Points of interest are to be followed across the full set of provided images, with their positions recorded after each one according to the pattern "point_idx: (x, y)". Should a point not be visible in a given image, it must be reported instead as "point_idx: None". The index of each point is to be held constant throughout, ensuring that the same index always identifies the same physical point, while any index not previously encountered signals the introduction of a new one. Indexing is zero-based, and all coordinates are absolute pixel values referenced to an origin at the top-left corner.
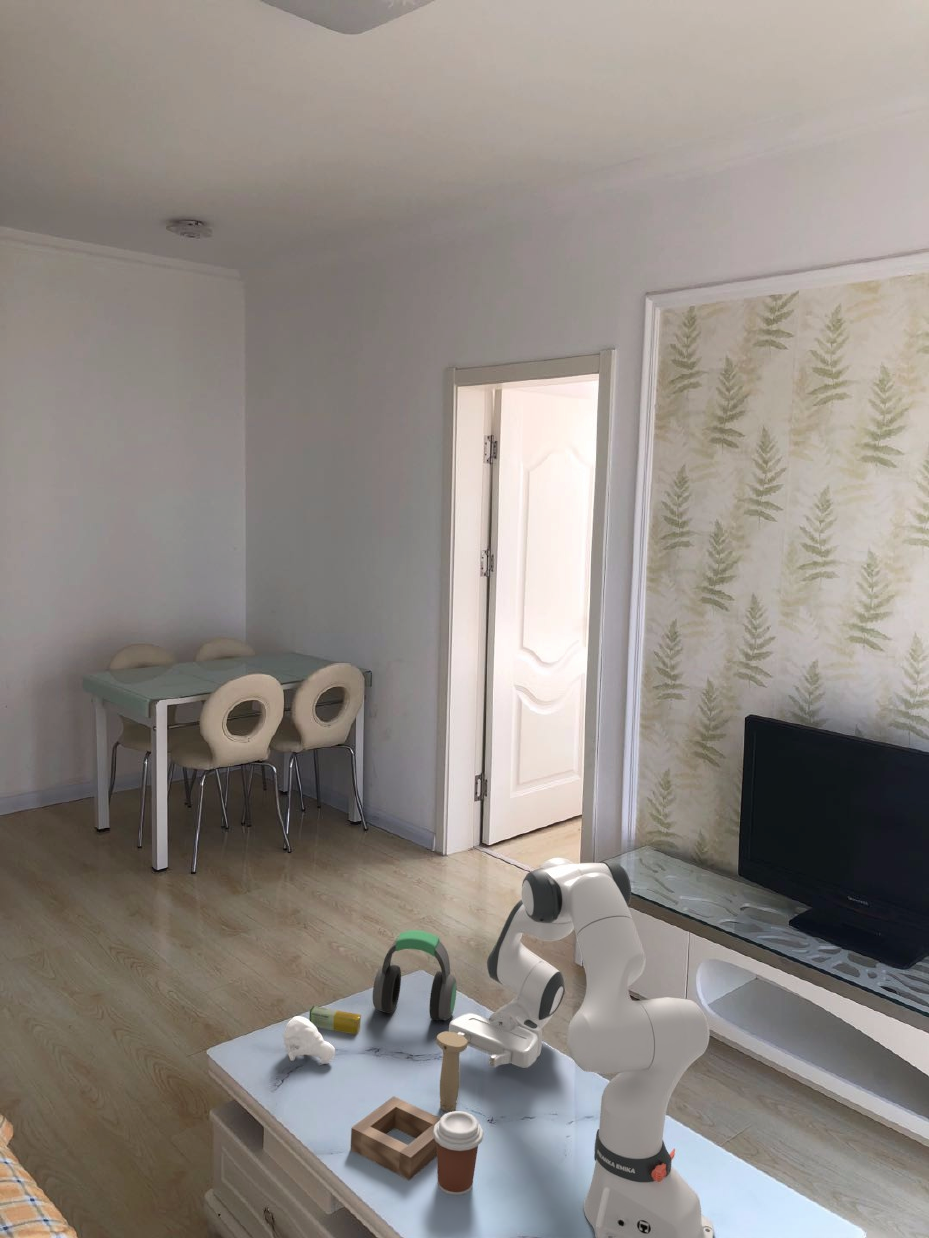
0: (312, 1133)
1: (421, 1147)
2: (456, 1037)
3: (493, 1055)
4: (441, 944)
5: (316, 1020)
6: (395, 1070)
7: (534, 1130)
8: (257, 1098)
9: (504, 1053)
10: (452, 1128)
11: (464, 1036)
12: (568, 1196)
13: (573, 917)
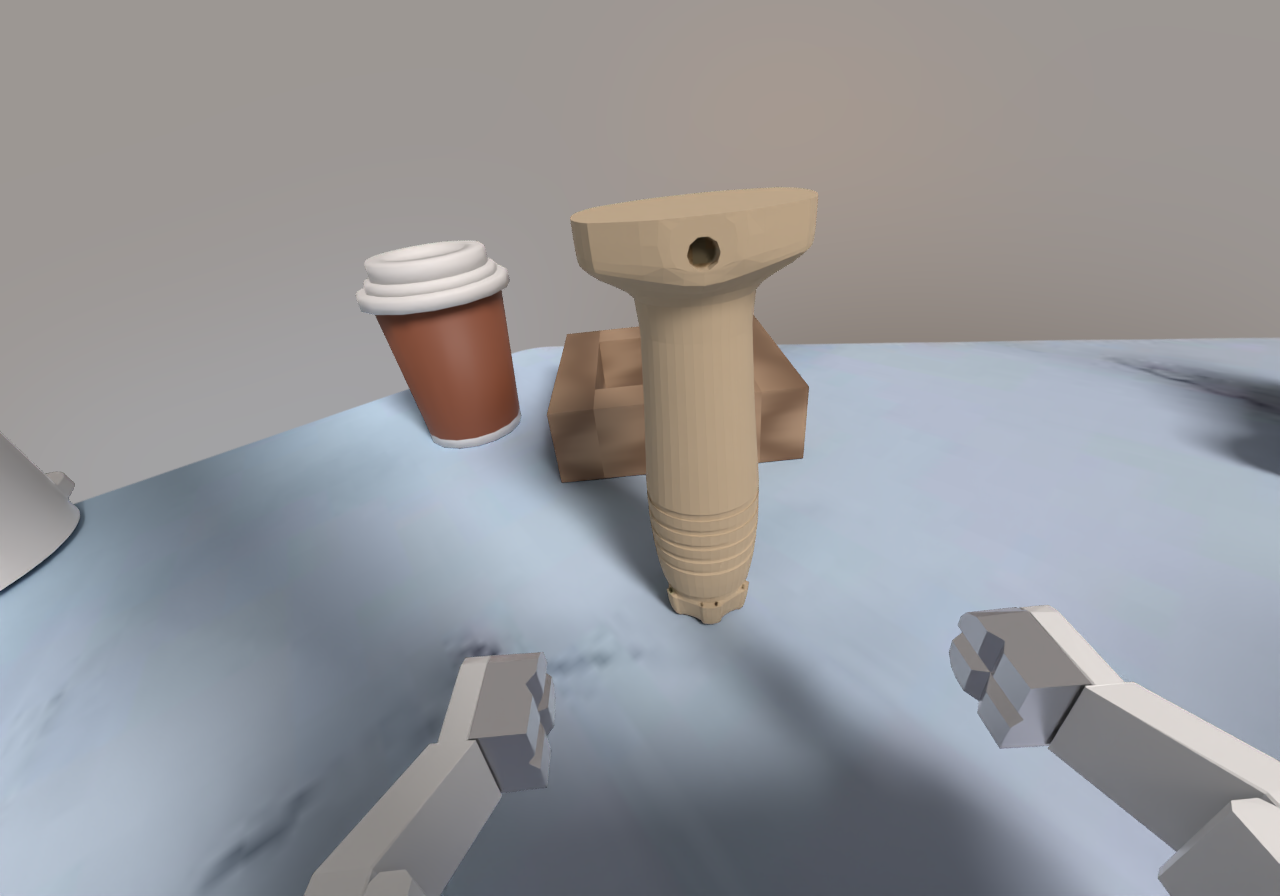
0: (860, 355)
1: (565, 351)
2: (681, 211)
3: (522, 696)
4: None
5: None
6: (1203, 640)
7: (219, 752)
8: (1080, 340)
9: (390, 835)
10: (436, 250)
11: (1252, 887)
12: (121, 541)
13: None
